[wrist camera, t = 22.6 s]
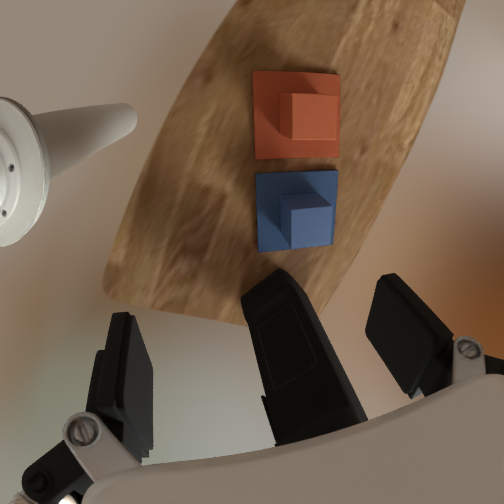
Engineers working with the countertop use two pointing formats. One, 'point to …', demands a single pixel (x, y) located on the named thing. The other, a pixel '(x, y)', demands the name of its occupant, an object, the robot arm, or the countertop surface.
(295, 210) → the slate block
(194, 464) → the robot arm
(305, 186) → the slate mat
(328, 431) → the tall black tower box
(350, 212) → the countertop surface
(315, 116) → the terracotta block
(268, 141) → the terracotta mat
